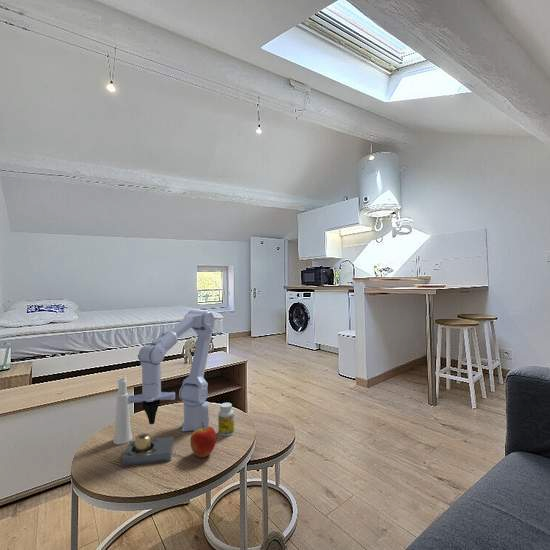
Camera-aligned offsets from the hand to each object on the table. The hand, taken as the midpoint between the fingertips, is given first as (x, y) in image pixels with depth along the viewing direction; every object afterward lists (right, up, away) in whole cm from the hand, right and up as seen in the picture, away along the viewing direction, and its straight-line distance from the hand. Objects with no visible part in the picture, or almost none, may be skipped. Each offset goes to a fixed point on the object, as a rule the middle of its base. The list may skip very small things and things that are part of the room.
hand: (152, 423), depth 103 cm
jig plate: (0, -9, -2) cm, 9 cm away
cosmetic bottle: (-13, -10, +7) cm, 18 cm away
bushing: (-2, -9, -3) cm, 10 cm away
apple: (+17, -9, -3) cm, 20 cm away
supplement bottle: (+23, -9, +12) cm, 27 cm away
